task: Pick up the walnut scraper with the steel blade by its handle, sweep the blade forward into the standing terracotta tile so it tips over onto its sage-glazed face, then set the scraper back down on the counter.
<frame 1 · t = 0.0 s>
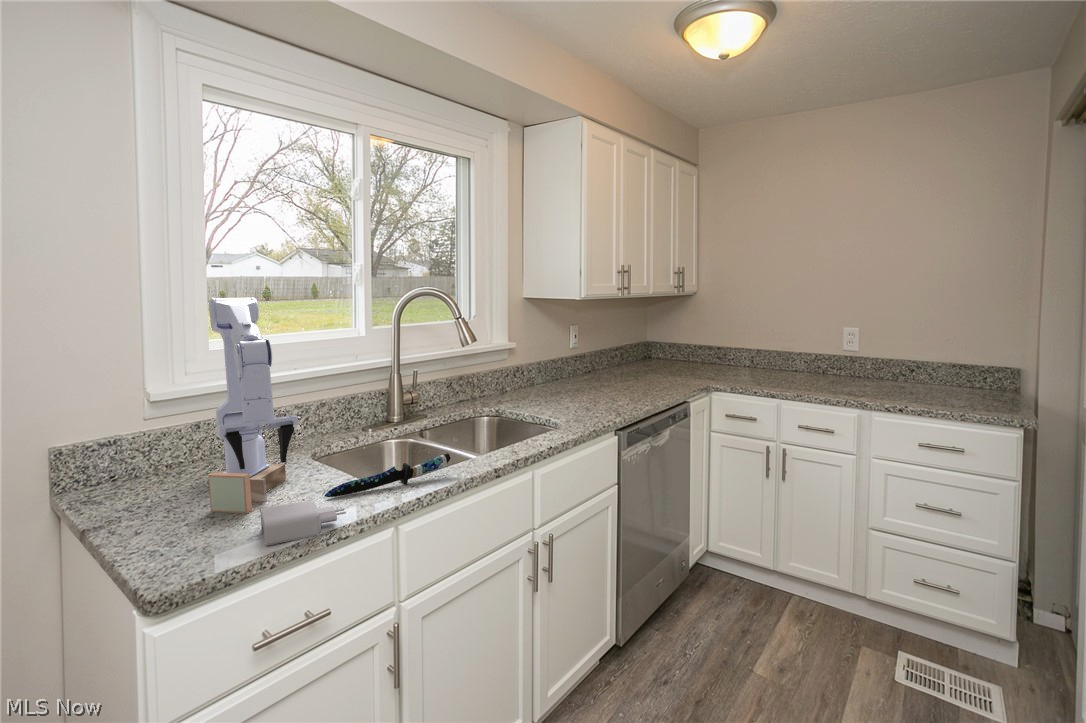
hand: (263, 465, 119), 11 cm above the worktop, tool pointing down, fingers open, 7 cm apart
charger: (305, 531, 113), on the worktop
tile: (231, 510, 122), on the worktop
scraper: (263, 490, 134), on the worktop
knife: (391, 486, 137), on the worktop
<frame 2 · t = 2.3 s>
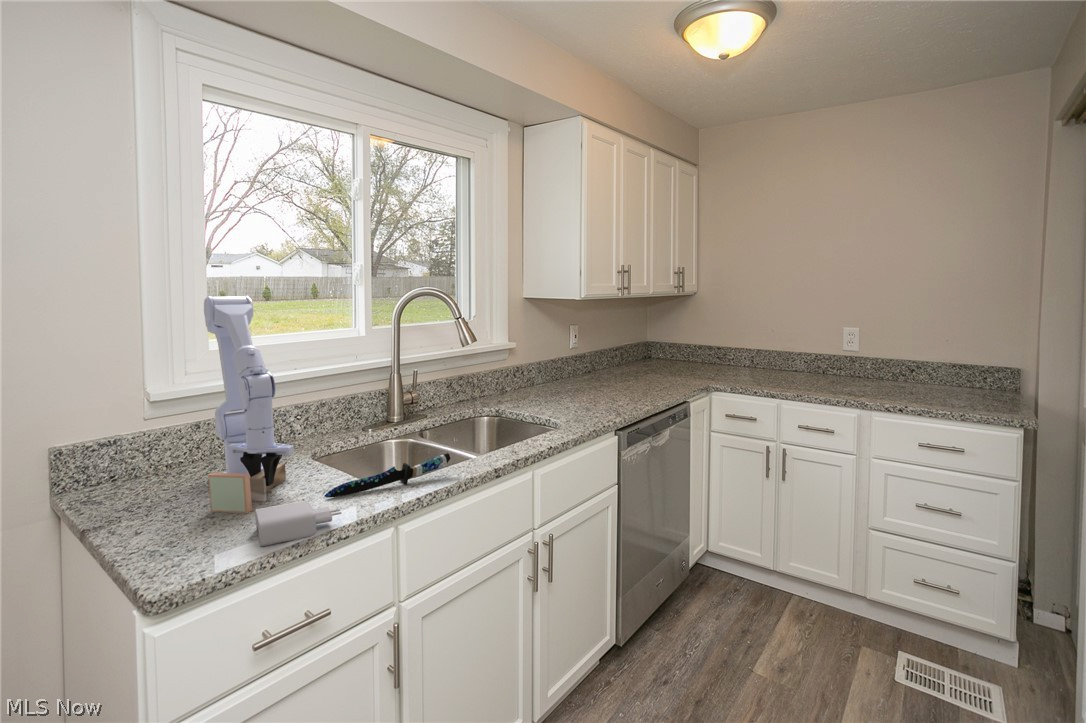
hand: (263, 484, 134), 1 cm above the worktop, tool pointing down, fingers closed on scraper, 2 cm apart
scraper: (263, 490, 134), on the worktop, touching gripper
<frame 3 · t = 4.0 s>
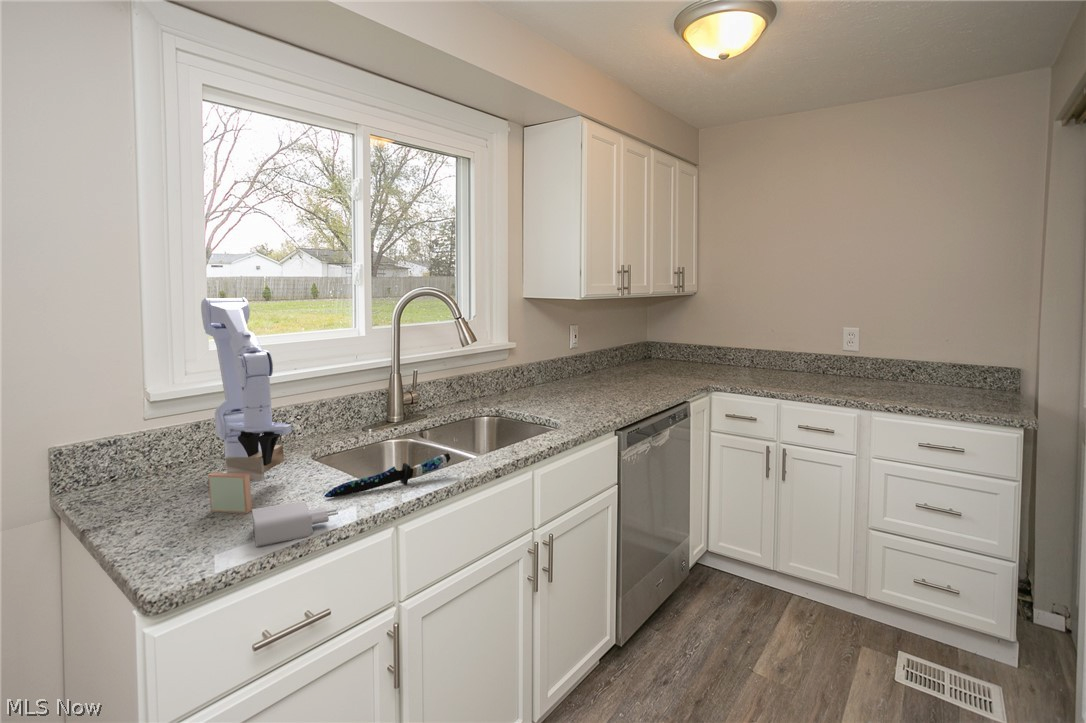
hand: (261, 463, 133), 6 cm above the worktop, tool pointing down, fingers closed on scraper, 2 cm apart
scraper: (261, 470, 133), point 5 cm above the worktop, touching gripper
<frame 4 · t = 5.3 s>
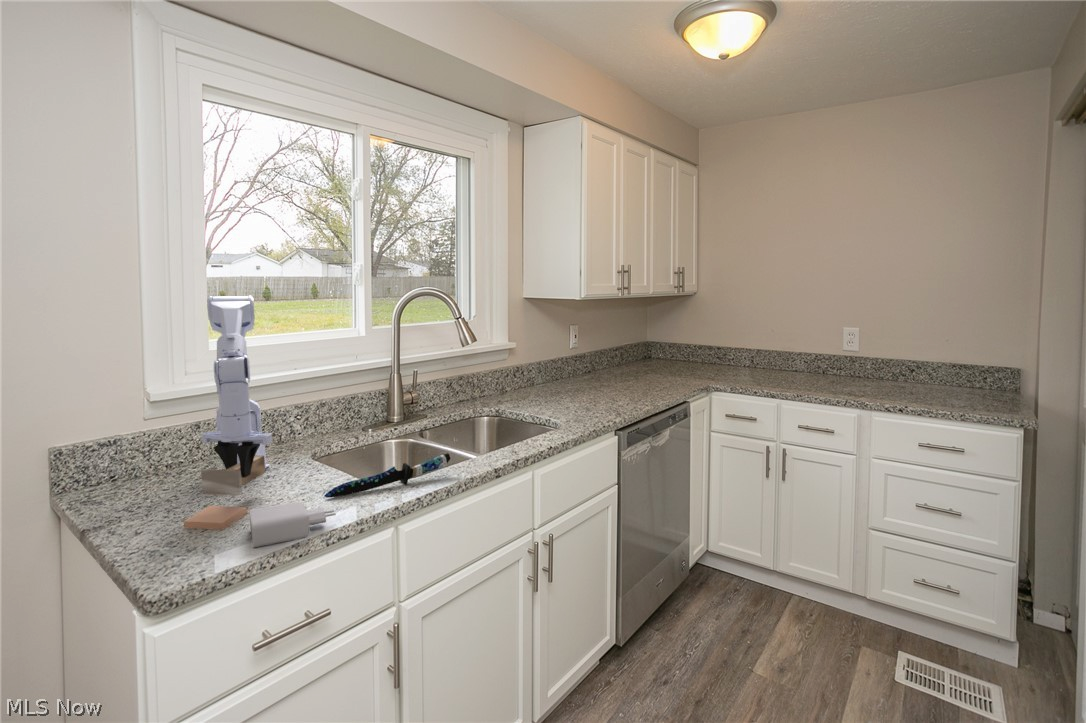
hand: (239, 475, 125), 6 cm above the worktop, tool pointing down, fingers closed on scraper, 2 cm apart
tile: (228, 510, 121), on the worktop, tilted 90°
scraper: (240, 483, 125), point 5 cm above the worktop, touching gripper
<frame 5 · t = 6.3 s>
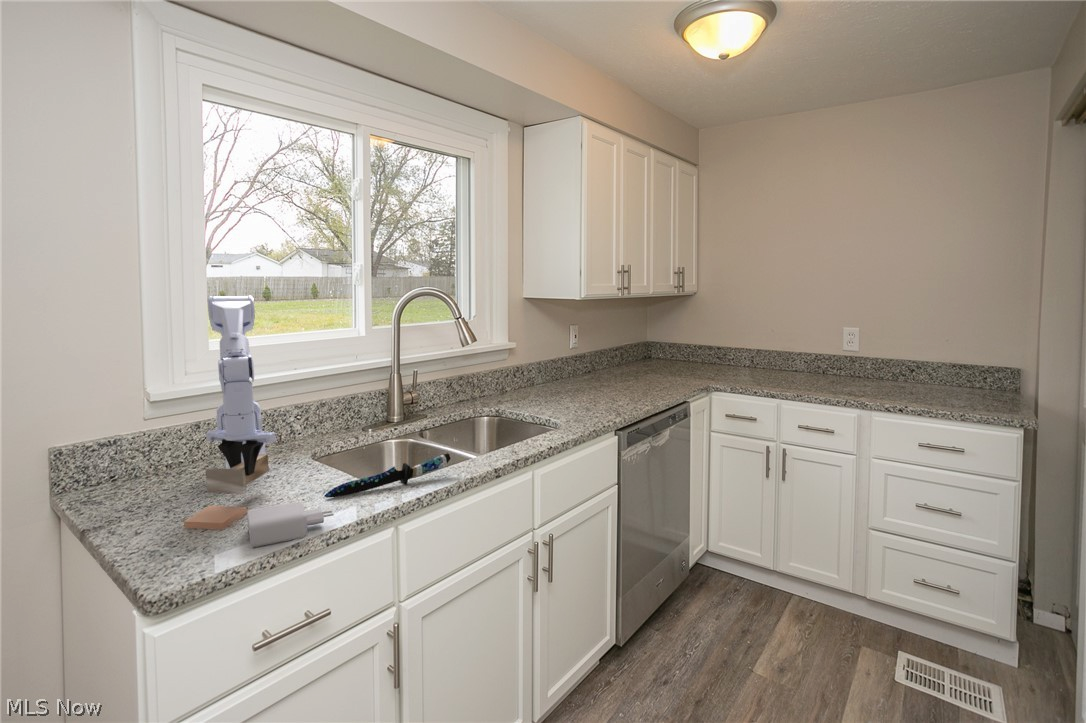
hand: (243, 473, 126), 6 cm above the worktop, tool pointing down, fingers closed on scraper, 2 cm apart
scraper: (244, 482, 126), point 4 cm above the worktop, touching gripper
when the fingers open (2 cm above the worktop, at t = 7.8 s): scraper stays where it is, on the worktop.
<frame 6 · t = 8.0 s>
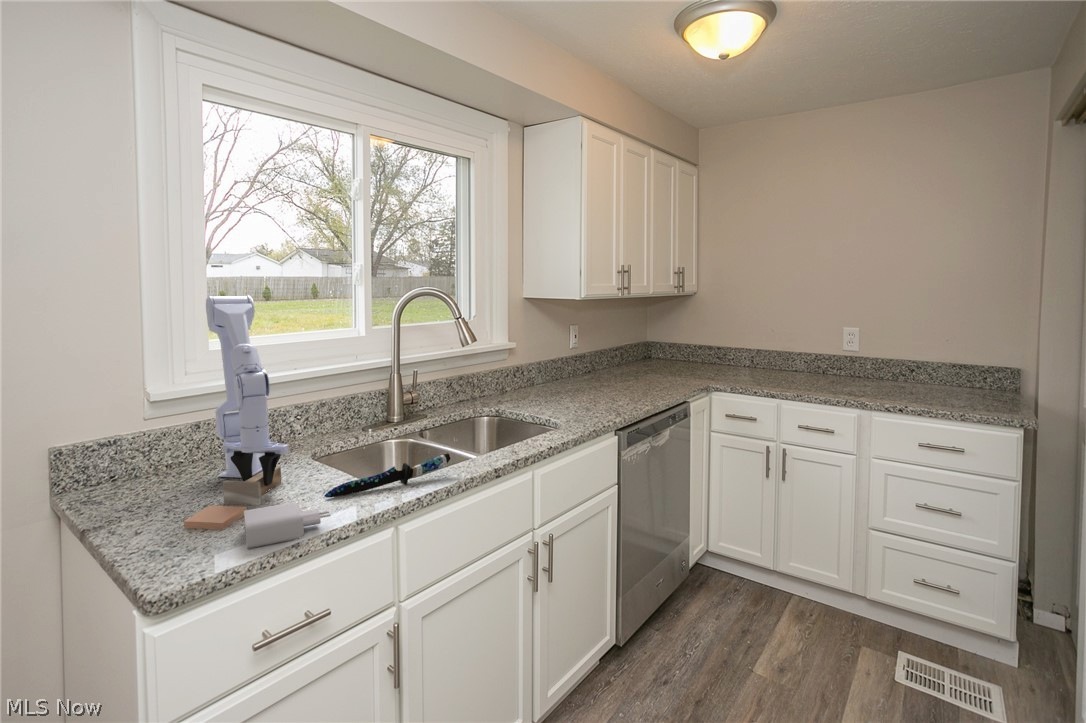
hand: (258, 484, 132), 2 cm above the worktop, tool pointing down, fingers open, 4 cm apart
scraper: (258, 493, 132), on the worktop
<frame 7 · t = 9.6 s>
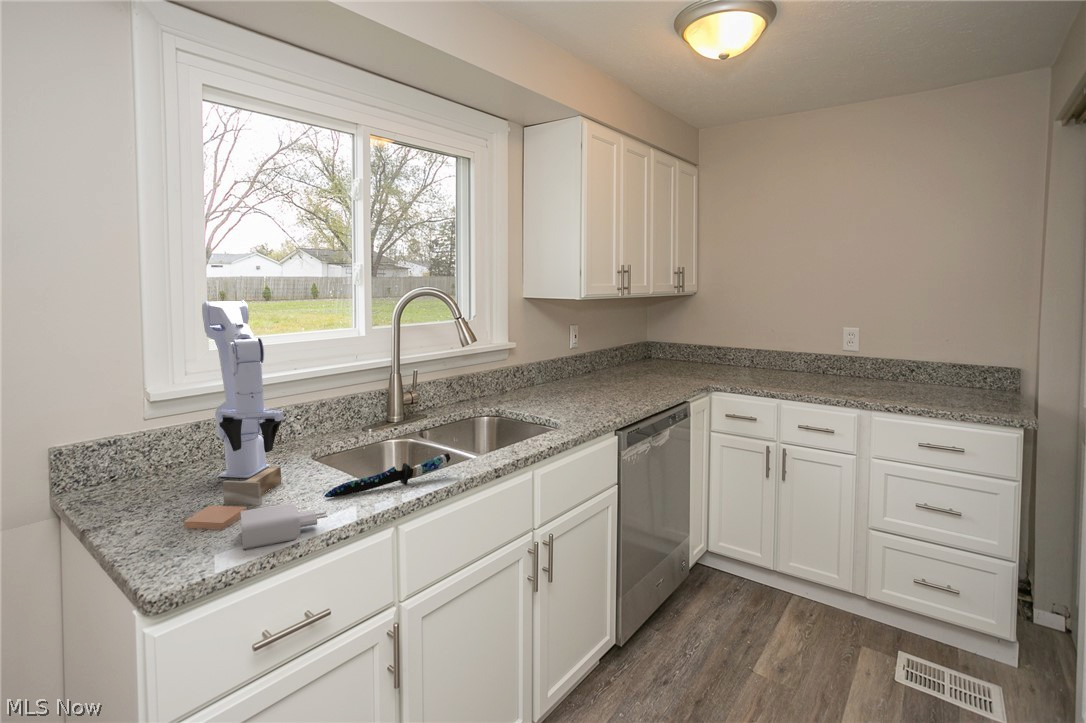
hand: (252, 450, 133), 9 cm above the worktop, tool pointing down, fingers open, 7 cm apart
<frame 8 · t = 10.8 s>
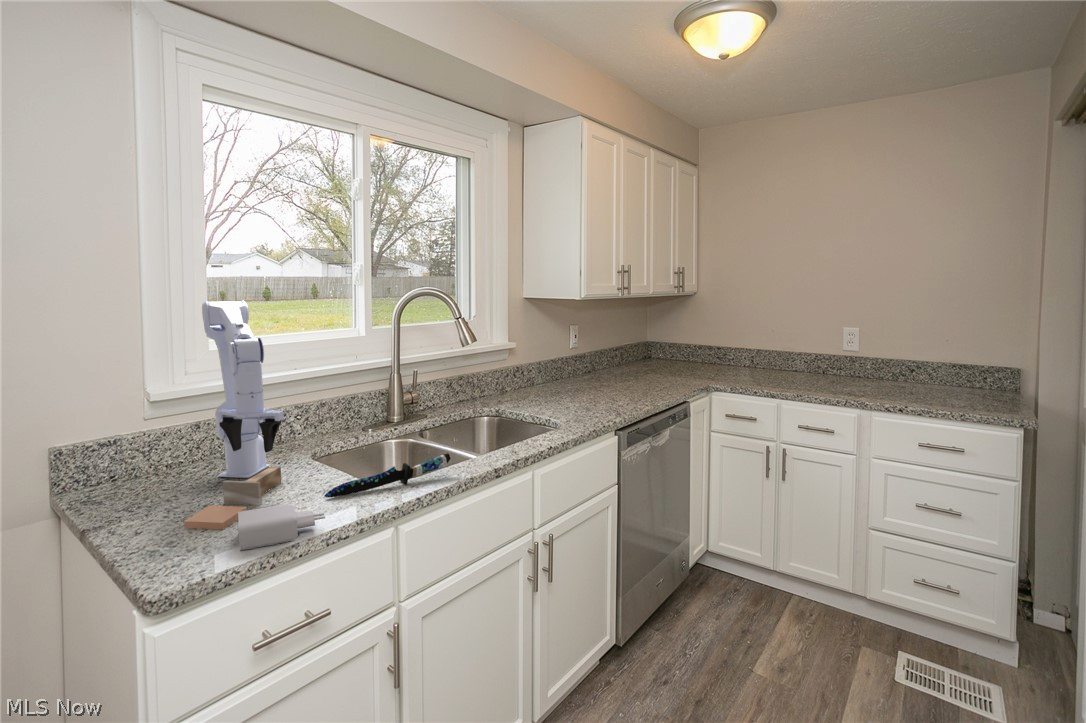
hand: (252, 450, 133), 9 cm above the worktop, tool pointing down, fingers open, 7 cm apart
at the end: tile tilted 90°; tile inside the target area (4.9 cm from its centre), point 0.5 cm above the worktop; the gripper is holding nothing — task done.
